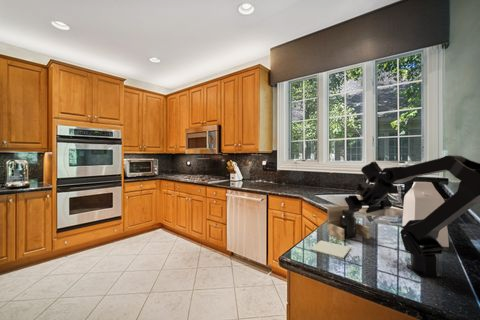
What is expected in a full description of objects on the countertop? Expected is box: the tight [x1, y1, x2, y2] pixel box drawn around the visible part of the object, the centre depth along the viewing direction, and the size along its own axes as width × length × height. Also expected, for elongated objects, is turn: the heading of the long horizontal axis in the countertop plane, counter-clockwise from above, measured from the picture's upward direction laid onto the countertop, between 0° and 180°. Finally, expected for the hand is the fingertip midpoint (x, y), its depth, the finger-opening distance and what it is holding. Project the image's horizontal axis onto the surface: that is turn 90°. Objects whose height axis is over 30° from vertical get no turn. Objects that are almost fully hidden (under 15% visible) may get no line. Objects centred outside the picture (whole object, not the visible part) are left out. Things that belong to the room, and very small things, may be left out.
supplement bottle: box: [340, 210, 357, 239], centre depth 100 cm, size 7×7×12 cm
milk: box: [401, 181, 450, 248], centre depth 94 cm, size 12×12×26 cm
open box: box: [326, 205, 370, 241], centre depth 100 cm, size 11×14×13 cm
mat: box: [310, 240, 352, 260], centre depth 84 cm, size 12×12×1 cm
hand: (357, 212), depth 94 cm, fingers open, 9 cm apart
